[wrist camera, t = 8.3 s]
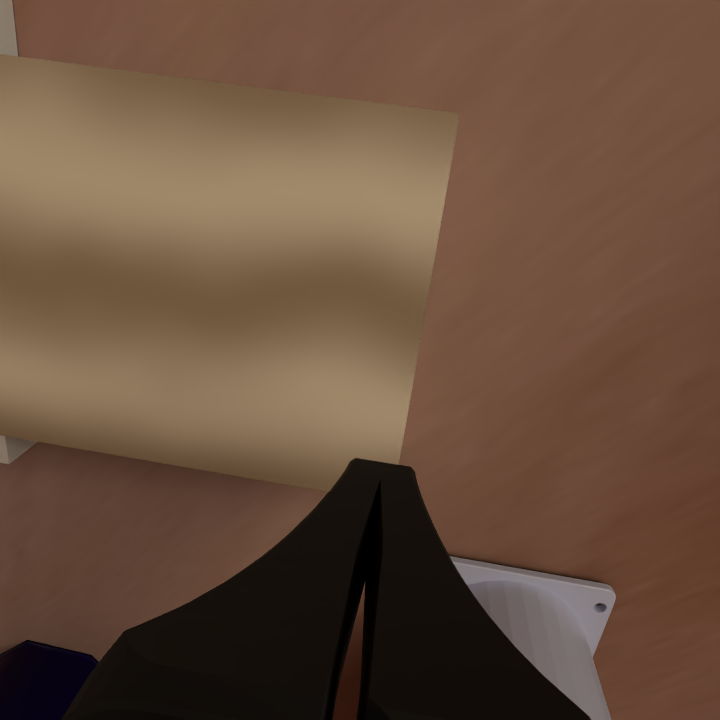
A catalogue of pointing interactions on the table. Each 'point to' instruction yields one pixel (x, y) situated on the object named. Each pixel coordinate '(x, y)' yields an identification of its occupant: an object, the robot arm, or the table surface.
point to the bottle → (41, 680)
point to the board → (213, 269)
